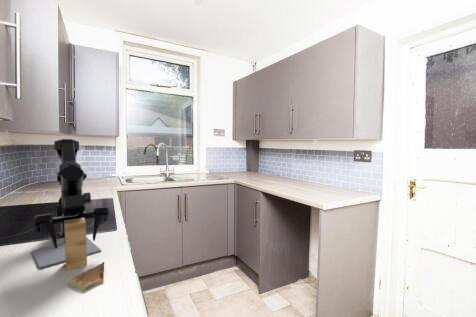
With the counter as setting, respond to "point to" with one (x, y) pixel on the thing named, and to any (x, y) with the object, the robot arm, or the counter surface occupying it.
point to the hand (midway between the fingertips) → (75, 243)
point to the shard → (89, 278)
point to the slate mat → (58, 254)
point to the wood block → (75, 243)
